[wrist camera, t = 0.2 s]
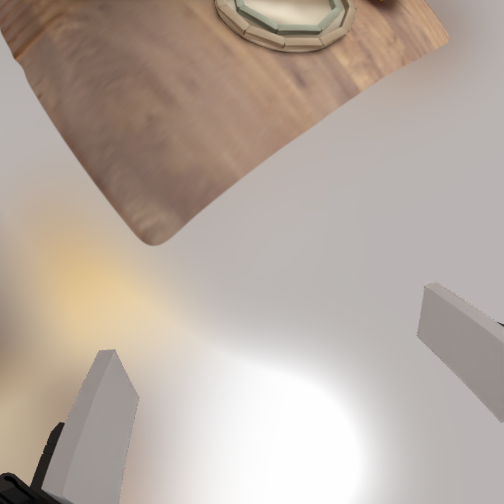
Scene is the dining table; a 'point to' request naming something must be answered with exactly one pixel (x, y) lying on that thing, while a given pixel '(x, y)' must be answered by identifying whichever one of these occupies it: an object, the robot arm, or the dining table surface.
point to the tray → (289, 22)
